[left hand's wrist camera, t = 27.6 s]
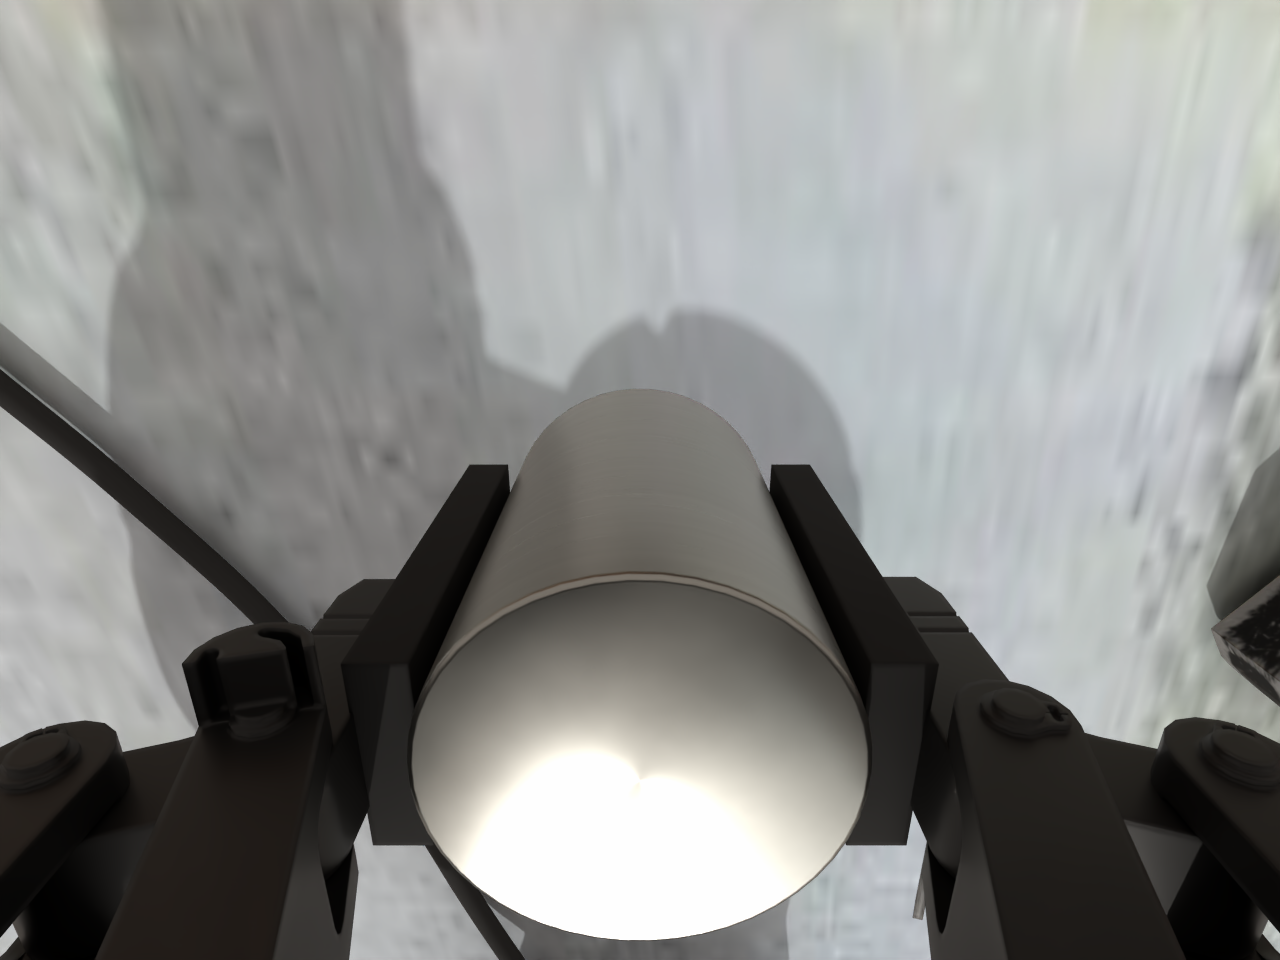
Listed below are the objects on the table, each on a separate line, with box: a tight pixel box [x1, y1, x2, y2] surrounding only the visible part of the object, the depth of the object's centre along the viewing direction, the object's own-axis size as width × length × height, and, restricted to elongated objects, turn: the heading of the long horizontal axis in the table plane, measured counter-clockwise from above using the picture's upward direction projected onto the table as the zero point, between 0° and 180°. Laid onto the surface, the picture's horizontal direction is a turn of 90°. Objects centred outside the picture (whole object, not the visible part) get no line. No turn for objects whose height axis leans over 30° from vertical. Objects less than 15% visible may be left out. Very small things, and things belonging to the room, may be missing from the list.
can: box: [407, 389, 872, 941], centre depth 11 cm, size 5×5×8 cm
